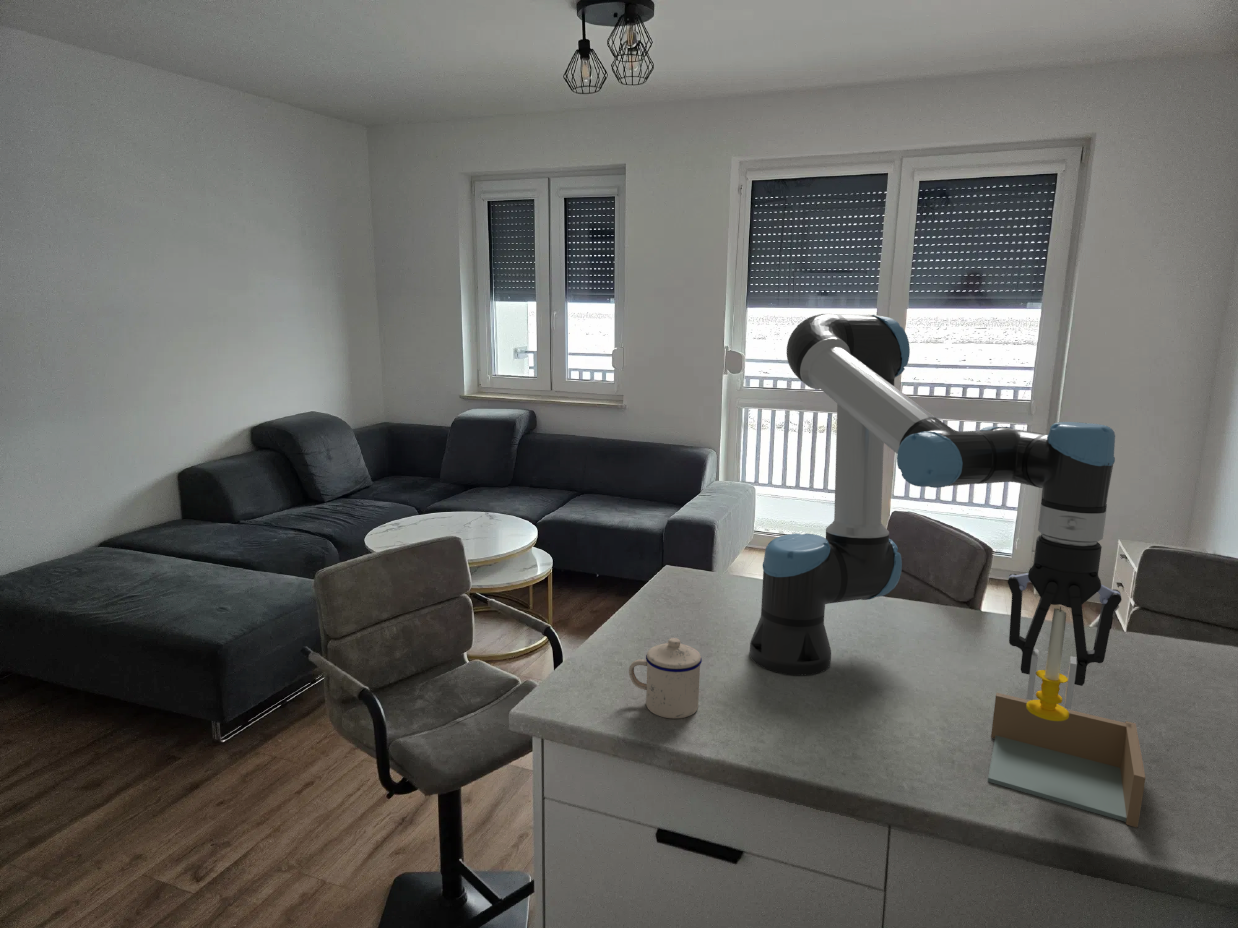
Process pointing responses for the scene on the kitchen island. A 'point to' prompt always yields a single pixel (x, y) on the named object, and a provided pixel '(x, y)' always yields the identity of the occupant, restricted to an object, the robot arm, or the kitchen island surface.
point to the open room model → (1069, 759)
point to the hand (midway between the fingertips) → (1048, 699)
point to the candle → (1051, 675)
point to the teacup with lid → (670, 679)
